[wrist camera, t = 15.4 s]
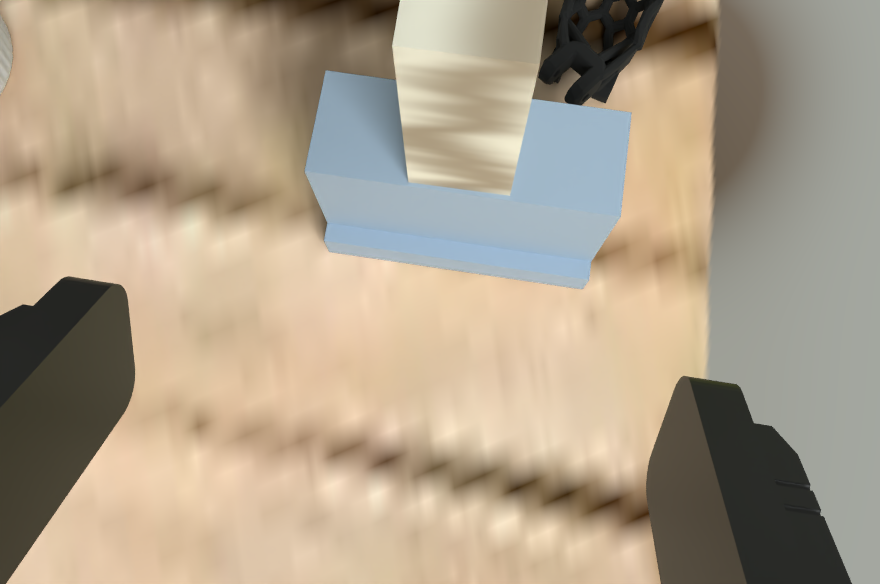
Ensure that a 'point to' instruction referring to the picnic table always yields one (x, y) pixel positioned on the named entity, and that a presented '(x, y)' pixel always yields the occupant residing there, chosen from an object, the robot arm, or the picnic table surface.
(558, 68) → the decorative element
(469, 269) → the light blue rectangular block
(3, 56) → the ramekin
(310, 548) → the picnic table surface
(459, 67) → the birch post
